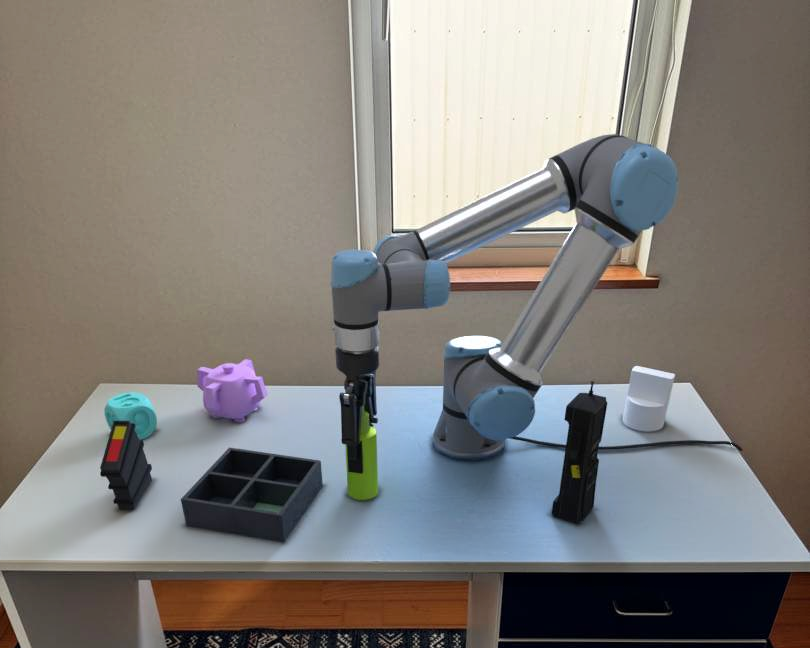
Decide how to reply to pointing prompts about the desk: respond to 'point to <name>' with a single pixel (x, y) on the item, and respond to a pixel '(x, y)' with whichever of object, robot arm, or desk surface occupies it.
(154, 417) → the decorative dice
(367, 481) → the soap dispenser
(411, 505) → the desk surface
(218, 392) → the pot
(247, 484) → the rack
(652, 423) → the cylinder with rectangular tab
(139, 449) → the black ridged block
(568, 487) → the portable radio
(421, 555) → the desk surface
